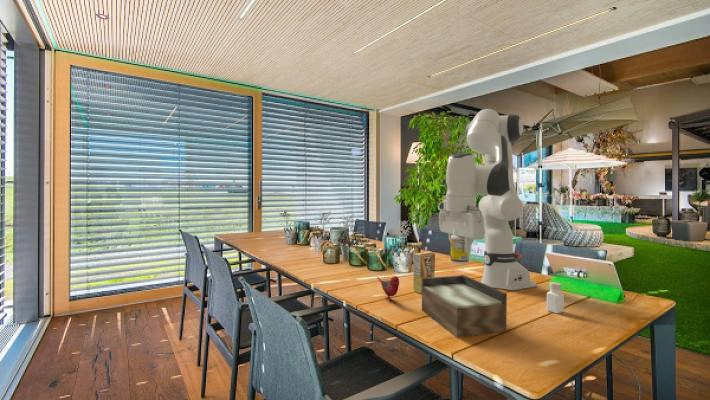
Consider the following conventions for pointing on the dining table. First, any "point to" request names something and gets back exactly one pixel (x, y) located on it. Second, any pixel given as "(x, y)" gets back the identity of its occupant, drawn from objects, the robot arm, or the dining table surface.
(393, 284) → the decorative bird figurine
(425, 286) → the open wooden crate
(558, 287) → the white bottle
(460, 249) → the supplement bottle
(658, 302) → the dining table surface
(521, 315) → the dining table surface
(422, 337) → the dining table surface
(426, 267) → the candy box
